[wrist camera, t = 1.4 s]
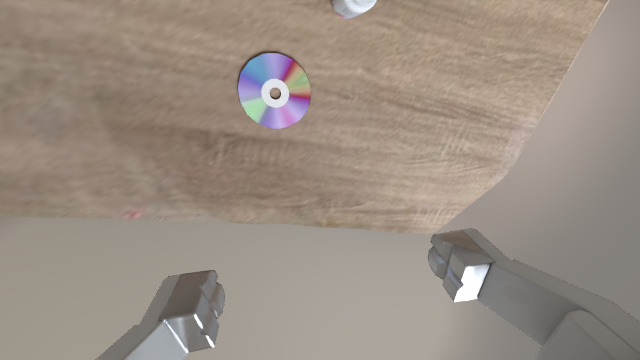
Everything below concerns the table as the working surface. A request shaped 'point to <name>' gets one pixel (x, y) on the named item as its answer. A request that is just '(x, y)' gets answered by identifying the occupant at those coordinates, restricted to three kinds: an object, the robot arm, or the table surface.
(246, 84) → the cd
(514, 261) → the robot arm
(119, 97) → the table surface
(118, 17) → the table surface
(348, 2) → the pill bottle
